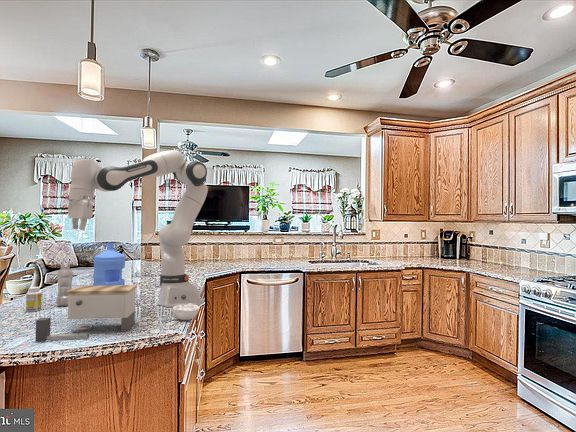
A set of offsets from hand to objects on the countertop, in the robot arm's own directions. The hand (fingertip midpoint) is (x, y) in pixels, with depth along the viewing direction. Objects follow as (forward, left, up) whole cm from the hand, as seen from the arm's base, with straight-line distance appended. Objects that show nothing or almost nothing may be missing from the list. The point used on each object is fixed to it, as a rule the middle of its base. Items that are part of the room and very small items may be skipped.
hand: (78, 229), depth 144 cm
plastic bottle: (+14, -22, -37) cm, 45 cm away
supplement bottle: (+23, -14, -37) cm, 46 cm away
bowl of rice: (-45, +8, -37) cm, 58 cm away
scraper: (-7, +28, -37) cm, 46 cm away
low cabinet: (-16, +17, -37) cm, 43 cm away
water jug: (+3, -49, -37) cm, 62 cm away
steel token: (-9, +17, -37) cm, 41 cm away
